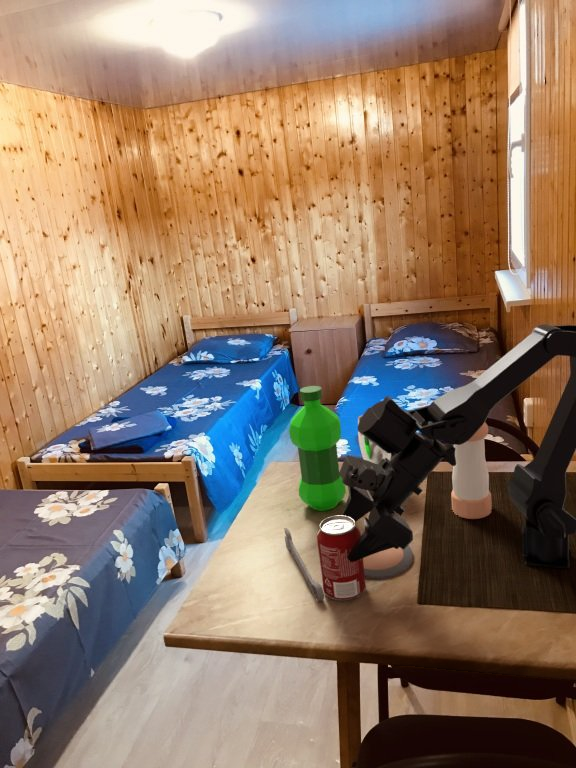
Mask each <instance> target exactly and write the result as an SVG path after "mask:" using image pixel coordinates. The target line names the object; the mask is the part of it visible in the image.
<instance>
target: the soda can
mask: <svg viewBox="0 0 576 768" xmlns="http://www.w3.org/2000/svg"><path fill="white" fill-rule="evenodd" d="M361 535H362V534H361V530H360V528H359V527H358V526H356V522H355V521H354V520H353V519H352V518H350V517H348V516H343V515H341V514H340V515H332V516H329V517H325V518H324V519H323V520H321V522H320V524H319V530H318V532H317V534H316V540H317V541H316V542H317V549H318V557H319V566H320V574H321V575H320V576H321V583H322V589H323V593H324V595H326V596H327V597H328V598H330V599H332V600H335V601H351V600H354V599H357V598H358V597H360V596H361V595H362V594H363V593H364V592H365V590H366V578H365V574H364V564H363V558H362V559H359V560H357V561H354V562H351V561H349V560H348V559H347V556H348V554H349V553H350V551H351V550H352V548H353V547H354V545H355V544H356V542H357V541H358V539H359V538H360V537H361Z"/></svg>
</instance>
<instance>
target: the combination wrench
mask: <svg viewBox="0 0 576 768" xmlns="http://www.w3.org/2000/svg"><path fill="white" fill-rule="evenodd" d="M283 529H284V534H285V535H284V542H285V547H286V549H287V550H288V551H291V553H292V556H293V557H294V559H295V561H296V564H298V566H299V569H300V571H301V572H302V575H303V577H304V578H305V580H306V582H307V583H308V586H309V587H310V590H311V593H312V596H313V599H315V600H316V599H317V601H316V602H317V603H319V602H321V601H322V602H323V601H324V600H325V593H324V590H323V586H322V585H321V583H320V582H318V581H315V580H314V579H313V577H312V576H311V574H310V572H309V570H308V568H307V567H306V565H305V563H304V561H303V559H302V557H301V556H300V553H299V552H298V549H296V547H295V544H294V543H293V540H292V538H293V537H292V534H291V531H290V530H289V529H288V528H287V527H286V528H283Z"/></svg>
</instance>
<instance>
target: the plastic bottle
mask: <svg viewBox="0 0 576 768" xmlns="http://www.w3.org/2000/svg"><path fill="white" fill-rule="evenodd" d="M299 393H300V400H301V401H302V402H303V403H304V405H303V406H302V408H301V409H300V410H299V411H297V412H296V414H294V416H293V417H292V418H291V421H290V426H289V430H288V431H289V432H288V433H289V438H290V440H291V441H290V442H291V443H292V444H293V445H295V447H297V451H298V458H299V459H298V460H299V468H300V474H301V477H300V480H299V485H298V495H299V498H300V500H301V501H302V502H303V503H305V505H308V506H309V507H311V508H312V509H314V511H318V512H319V511H323V512H325V511H330V510H332V509H334V508H336V506H337V505H338V504H339V503H340V502H341V501H343V499H344V498H345V496H346V495H345V494H346V491H347V490H346V485H345V484H343V482H342V478H341V476H339V472H340V467H339V456H338V449H337V443H338V442H339V441H340V440H341V439H342V438H341V436H342V428H341V427H342V426H341V419H340V418H339V415H338V414H336V413H335V412H333V411H332V410H331V409H329V408H328V407H326V406H324V405H323V404H321V399H323V391H322V386H320V385H319V386H318V385H309V386H304V387H301V388H300V390H299Z"/></svg>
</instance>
